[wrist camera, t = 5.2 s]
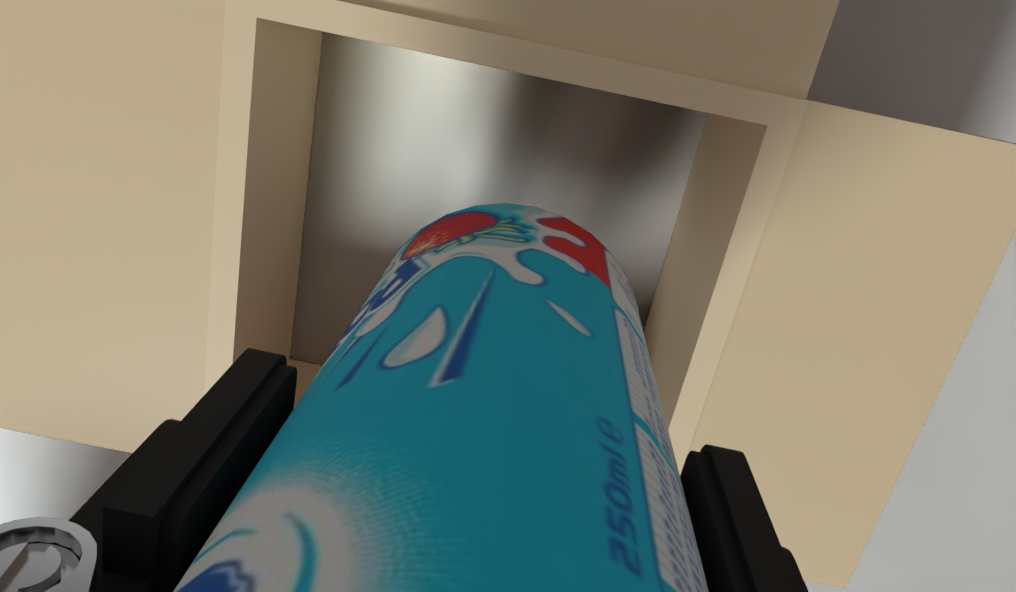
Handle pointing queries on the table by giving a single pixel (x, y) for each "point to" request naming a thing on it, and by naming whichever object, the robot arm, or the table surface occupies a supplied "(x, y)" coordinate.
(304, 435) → the beverage can
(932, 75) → the table surface
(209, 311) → the carton
